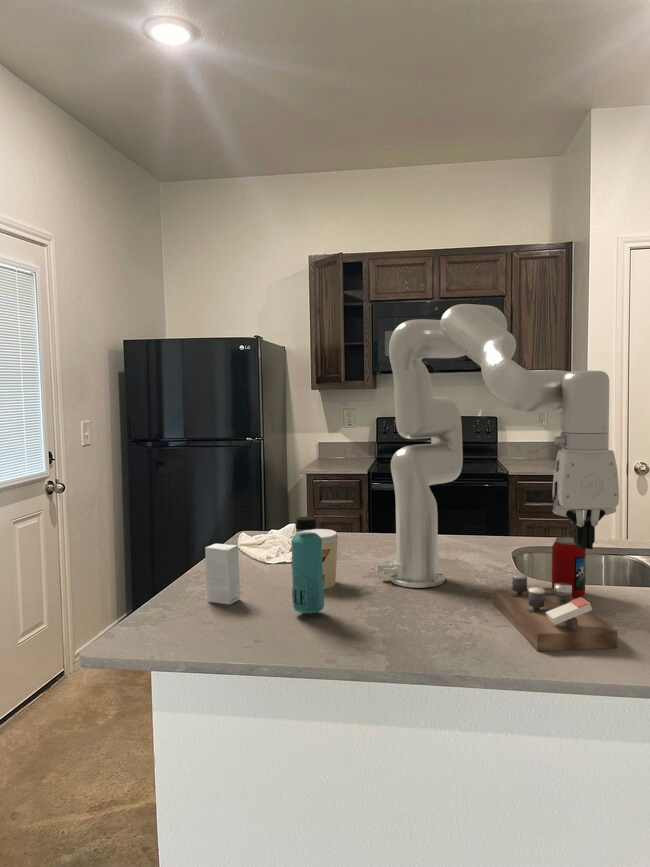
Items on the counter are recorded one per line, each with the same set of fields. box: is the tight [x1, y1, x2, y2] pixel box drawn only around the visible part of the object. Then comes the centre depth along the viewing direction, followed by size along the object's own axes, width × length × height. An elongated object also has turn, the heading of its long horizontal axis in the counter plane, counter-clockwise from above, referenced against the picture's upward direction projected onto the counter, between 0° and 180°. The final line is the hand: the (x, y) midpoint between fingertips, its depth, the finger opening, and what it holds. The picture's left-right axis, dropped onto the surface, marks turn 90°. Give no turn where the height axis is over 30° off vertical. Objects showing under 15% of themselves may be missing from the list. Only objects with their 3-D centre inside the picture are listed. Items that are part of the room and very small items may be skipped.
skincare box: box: [204, 543, 241, 606], centre depth 143 cm, size 6×4×12 cm
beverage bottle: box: [290, 515, 326, 614], centre depth 133 cm, size 6×7×20 cm
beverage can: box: [551, 536, 587, 599], centre depth 142 cm, size 7×7×12 cm
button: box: [554, 583, 572, 598], centre depth 129 cm, size 3×3×2 cm
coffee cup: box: [299, 528, 339, 590], centre depth 153 cm, size 9×9×12 cm
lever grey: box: [511, 572, 528, 595], centre depth 133 cm, size 3×3×4 cm
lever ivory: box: [527, 586, 545, 610], centre depth 124 cm, size 3×3×4 cm
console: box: [493, 587, 618, 652], centre depth 126 cm, size 14×24×5 cm, turn 3°
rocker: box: [546, 596, 593, 625], centre depth 117 cm, size 7×3×1 cm, turn 93°
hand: (583, 547), depth 116 cm, fingers closed
